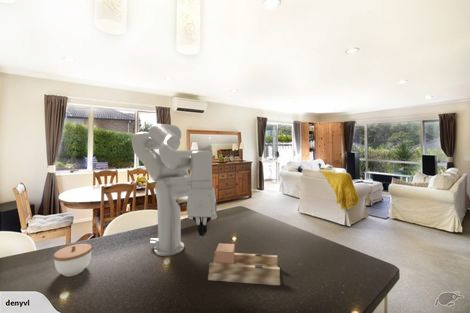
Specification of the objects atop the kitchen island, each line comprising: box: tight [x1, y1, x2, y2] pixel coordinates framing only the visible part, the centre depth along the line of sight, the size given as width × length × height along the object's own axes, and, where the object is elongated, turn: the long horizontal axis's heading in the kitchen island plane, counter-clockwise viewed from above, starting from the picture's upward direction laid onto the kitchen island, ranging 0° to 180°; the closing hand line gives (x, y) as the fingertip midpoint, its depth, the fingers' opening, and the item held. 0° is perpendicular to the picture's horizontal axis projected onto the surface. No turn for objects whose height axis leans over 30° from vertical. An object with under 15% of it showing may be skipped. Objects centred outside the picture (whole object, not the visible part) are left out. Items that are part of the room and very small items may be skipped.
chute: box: [207, 251, 281, 286], centre depth 75 cm, size 24×12×5 cm, turn 84°
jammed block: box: [215, 242, 236, 264], centre depth 75 cm, size 6×6×7 cm
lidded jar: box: [53, 243, 93, 277], centre depth 74 cm, size 11×11×9 cm
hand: (202, 234), depth 76 cm, fingers closed
